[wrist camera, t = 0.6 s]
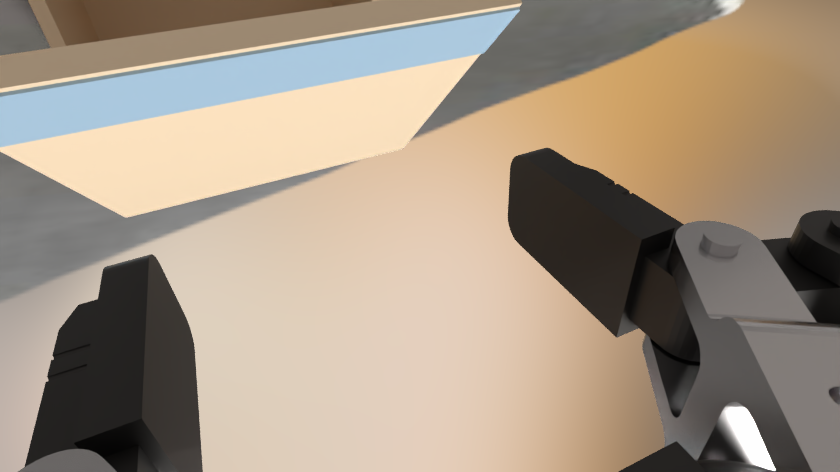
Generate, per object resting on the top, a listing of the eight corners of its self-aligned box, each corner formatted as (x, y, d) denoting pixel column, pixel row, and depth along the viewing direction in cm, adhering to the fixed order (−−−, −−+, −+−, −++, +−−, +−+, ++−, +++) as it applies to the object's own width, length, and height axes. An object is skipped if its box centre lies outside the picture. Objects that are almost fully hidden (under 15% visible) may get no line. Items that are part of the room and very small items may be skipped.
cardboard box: (313, -160, 30) (365, -181, 22) (350, 96, 39) (395, 141, 32) (8, -148, 25) (-55, -169, 17) (134, 141, 34) (128, 206, 27)
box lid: (514, -20, 16) (523, 5, 16) (399, 137, 31) (403, 150, 31) (-101, 70, 11) (-90, 107, 11) (121, 203, 26) (126, 219, 26)
